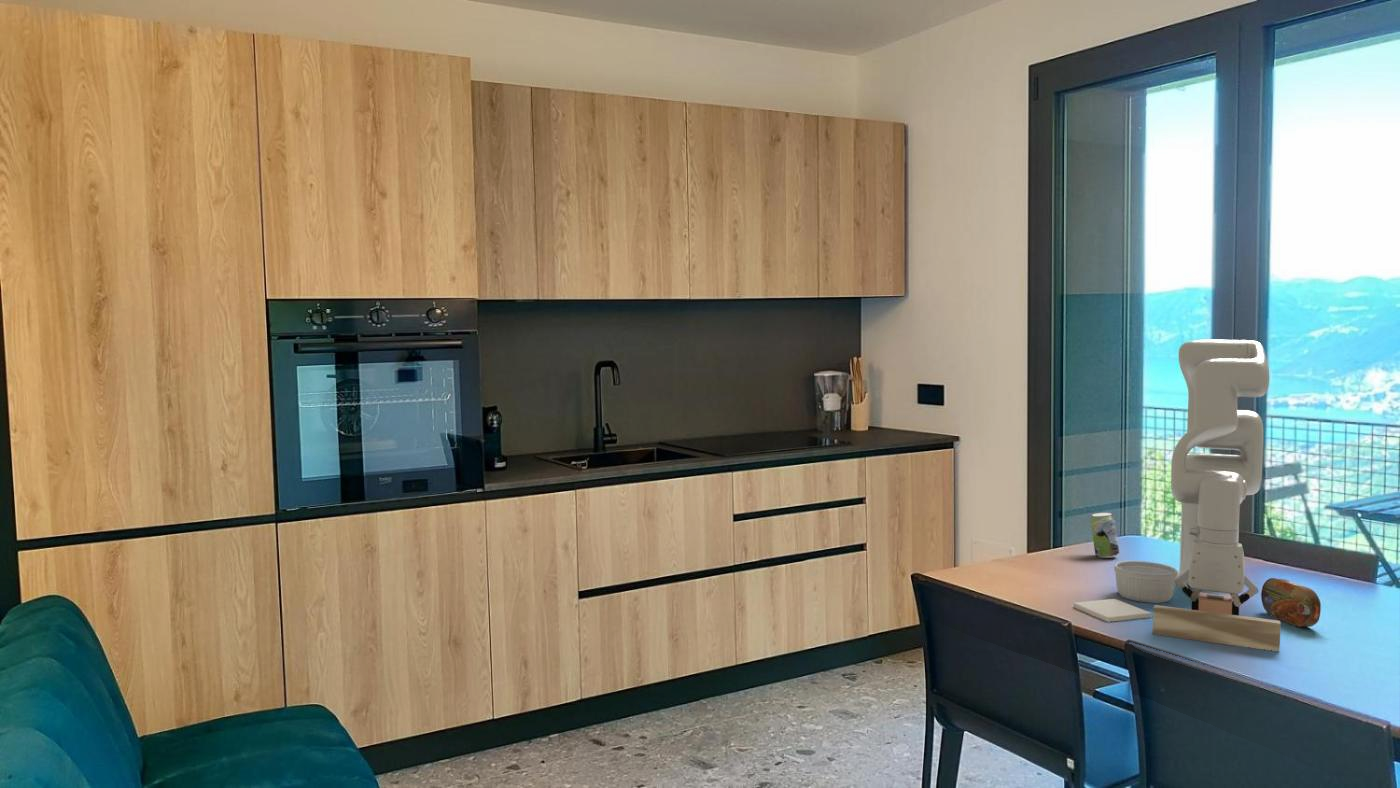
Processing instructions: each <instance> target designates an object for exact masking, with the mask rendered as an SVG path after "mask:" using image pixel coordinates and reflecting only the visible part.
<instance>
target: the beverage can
mask: <svg viewBox="0 0 1400 788" xmlns="http://www.w3.org/2000/svg"><path fill="white" fill-rule="evenodd" d="M1090 527H1091V534H1092V541H1093V549H1094V555H1095V556H1098V558H1100V559H1101V558H1102V559H1108V558H1109V559H1110V558H1116V556H1117V555H1118V554H1119V553H1120V550H1119V549H1120V547H1119V543H1118V542H1119V541H1118V534H1117V527H1116V521H1115V517H1114V516H1113V515H1112V513H1111V512H1097V513H1093V514H1091V518H1090Z"/></svg>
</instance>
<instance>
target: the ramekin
mask: <svg viewBox="0 0 1400 788" xmlns="http://www.w3.org/2000/svg"><path fill="white" fill-rule="evenodd" d="M1113 569H1114V572H1115V583H1116V590H1117V592H1118V593H1119V595H1120V596H1121V597H1123V598H1125V599H1128V600H1130V601H1134V602H1141V603H1150V604H1151V603H1152V604H1154V603H1155V604H1159V603H1162V604H1163V603H1165V602H1169V601H1170V600H1171V599H1173V597H1174V593H1175V587H1176V584H1175V582H1174V581H1175V579H1176V577H1177V572H1178V570H1177V569H1176V568H1175V567H1173V566H1171V565H1167V564H1163V563H1158V562H1153V561H1152V562H1151V561H1143V560H1142V561H1141V560H1125V561H1124V560H1123V561H1118V562H1116V563H1114V568H1113Z"/></svg>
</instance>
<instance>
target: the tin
mask: <svg viewBox="0 0 1400 788" xmlns="http://www.w3.org/2000/svg"><path fill="white" fill-rule="evenodd" d="M1260 598H1261V604H1262V606H1263V609H1264V610H1265V612H1266V613H1267V614H1268V615H1269V616H1270V615H1272V616H1273V618H1275V617H1276V618H1275V619H1277V618H1278V619H1277V620H1279V619H1280V620H1279V621H1282V620H1283V621H1282V622H1284V621H1285V623H1286V622H1288V623H1287V624H1289V623H1290V624H1289V625H1291V624H1293V625H1295V626H1294V627H1296V626H1297V627H1296V628H1302V627H1303V628H1309V627H1313V626H1315V625H1317V623H1318V622H1319V620H1320V617H1321V609H1322V607H1321V606H1322V605H1321V600H1320V598H1319V596H1318V594H1317V593H1316V592H1315V590H1313V589H1311V588H1309V587H1308V586H1305V585H1301V584H1298V583H1295V582H1293V581H1290V580H1288V579H1286V578H1276V577H1270V578H1268V579H1267V580H1265V581H1264V583H1263V585H1262V588H1261V592H1260ZM1272 616H1271V617H1272ZM1293 625H1292V626H1293Z"/></svg>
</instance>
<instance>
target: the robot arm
mask: <svg viewBox="0 0 1400 788" xmlns="http://www.w3.org/2000/svg"><path fill="white" fill-rule="evenodd" d="M1264 348H1265V347H1264V346H1263V345H1262V344H1261V342H1259V341H1256V340H1247V339H1240V340H1239V339H1197V340H1190V341H1186V342H1183V343H1182V344H1181V345H1180V347H1179V349H1178V364H1179V368H1180V371H1181V373H1182V377H1183V378H1184V381H1185V383H1186V388H1187V392H1188V400H1187V426H1186V428H1187V429H1186V433H1185V434H1184V435H1182V437H1181V438H1180V439H1179V440H1178V442H1177V443H1176V445H1175V446H1174V449H1173V452H1172V457H1171V465H1170V466H1171V467H1170V472H1171V473H1170V475H1171V476H1170V486H1171V495H1172V497H1173V499H1174V500H1175V501H1177V502H1178V503H1180V504H1181V511H1180V512H1181V514H1180V517H1181V518H1180V519H1181V521H1180V543H1179V545H1180V547H1179V571H1178V570H1177V577H1176V579H1175V581H1174V582H1175V586H1177V588H1179V589H1180V590H1181V591H1182V592H1183V593H1184V594H1185V595H1186V596H1187V597H1188V599H1190V601H1191V605H1190V606H1191V607H1190V610H1199V594H1200V593H1202V591H1205V592H1214V593H1221V594H1229V596H1231V597H1232V615H1238V616H1240V615H1239V614H1240V606H1242V605H1243V604H1244V603H1246V602H1247V601H1249V600H1250V599H1251V598H1252V597H1254V596H1255V595H1256V594H1258V593H1259V590H1260V589H1259V588H1258V587H1257V586H1256V585H1255V584H1254V582H1252V581H1251V580H1250V579H1249V577H1248V576H1247V575H1246V573H1245V569H1246V568H1245V554H1244V549H1243V545H1242V543H1239V533H1240V509H1241V507H1240V506H1241V504H1242V503H1243V501H1245V499H1246V496H1253V495H1255V494H1258V492H1259V491H1260V489H1261V485H1262V481H1263V456H1264V455H1263V454H1264V425H1263V420H1262V418H1261V416H1260V415H1259V414H1258V413H1257V412H1255V411H1252V410H1248V409H1246V410H1245V409H1238V408H1239V407H1238V405H1239V404H1238V398H1239V397H1240V398H1243V397H1244V398H1261V397H1263V396H1265V395H1266V393H1267V392H1268V390H1269V386H1270V370H1269V363H1268V359H1267V356H1266V352H1265V349H1264ZM1196 447H1197V448H1201V449H1213V450H1214V449H1216V450H1231V451H1232V450H1234V451H1238V452H1240V454H1224V453H1223V454H1222V453H1209V452H1207V453H1206V452H1199V453H1197V452H1195V453H1190V451H1191V450H1193V449H1194V448H1196ZM1189 453H1190V454H1189ZM1245 586H1246V587H1247V589H1248V590H1246V591H1244V589H1245ZM1190 587H1191V588H1190ZM1239 594H1240V595H1239Z"/></svg>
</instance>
